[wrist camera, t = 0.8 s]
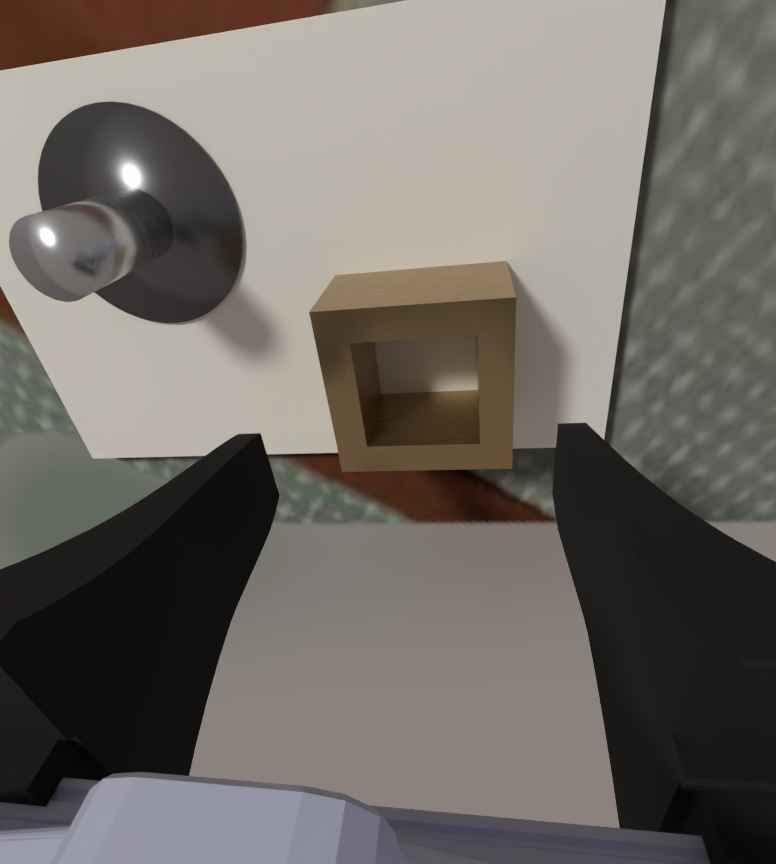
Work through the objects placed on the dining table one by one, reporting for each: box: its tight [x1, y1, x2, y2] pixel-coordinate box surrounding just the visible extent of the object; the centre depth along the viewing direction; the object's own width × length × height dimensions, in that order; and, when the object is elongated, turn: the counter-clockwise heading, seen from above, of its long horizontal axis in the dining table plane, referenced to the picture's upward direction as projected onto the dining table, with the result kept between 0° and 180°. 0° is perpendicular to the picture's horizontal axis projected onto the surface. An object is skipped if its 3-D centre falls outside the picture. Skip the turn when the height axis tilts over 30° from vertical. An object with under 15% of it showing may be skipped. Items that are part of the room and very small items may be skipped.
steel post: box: [9, 102, 243, 323], centre depth 15 cm, size 7×7×4 cm
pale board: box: [0, 0, 666, 458], centre depth 18 cm, size 22×14×1 cm, turn 96°
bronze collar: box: [309, 261, 516, 472], centre depth 16 cm, size 6×6×4 cm
